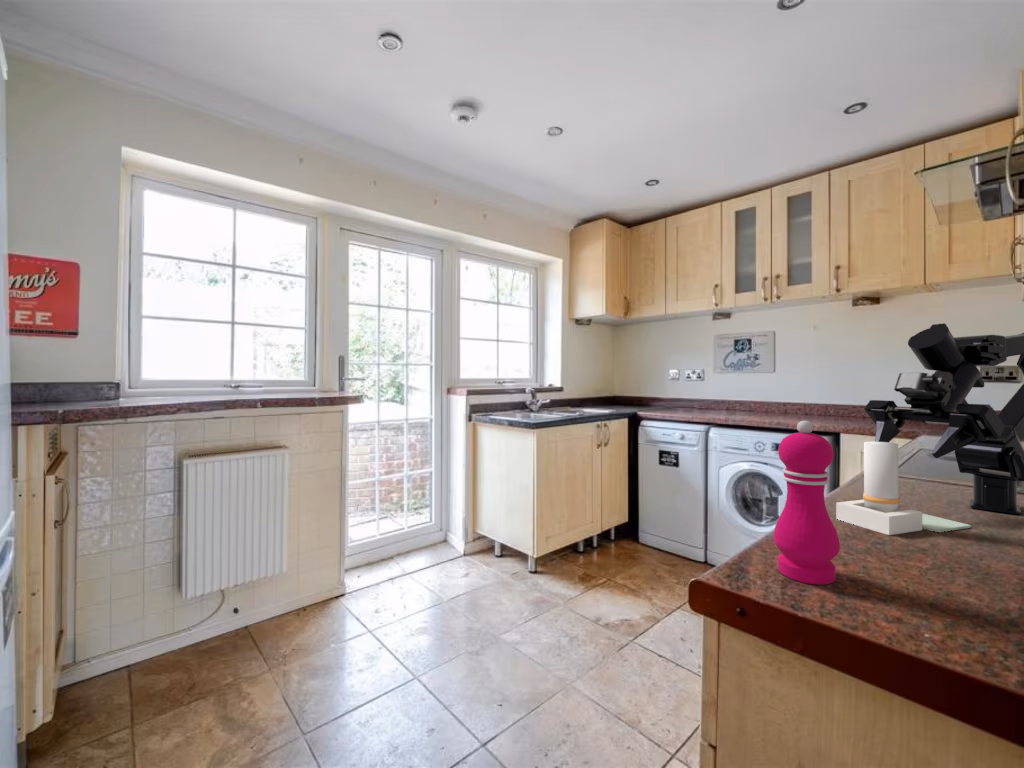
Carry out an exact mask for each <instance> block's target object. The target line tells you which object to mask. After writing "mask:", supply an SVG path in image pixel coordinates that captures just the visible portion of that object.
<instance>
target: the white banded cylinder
mask: <svg viewBox="0 0 1024 768" xmlns="http://www.w3.org/2000/svg"><path fill="white" fill-rule="evenodd" d="M863 475H864V476H863V493H862V500H863V499H864V507H865V508H869V509H872V510H876V511H880V512H884V513H889V512H897V511H899V504H900V503H901V502H900V499H901V497H899V444H898V443H896V442H875V440H873V441H864V442H863Z"/></svg>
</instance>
